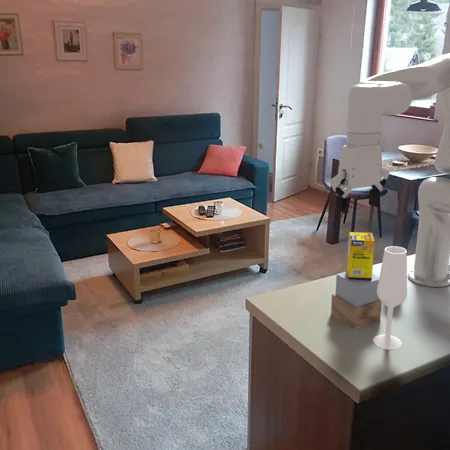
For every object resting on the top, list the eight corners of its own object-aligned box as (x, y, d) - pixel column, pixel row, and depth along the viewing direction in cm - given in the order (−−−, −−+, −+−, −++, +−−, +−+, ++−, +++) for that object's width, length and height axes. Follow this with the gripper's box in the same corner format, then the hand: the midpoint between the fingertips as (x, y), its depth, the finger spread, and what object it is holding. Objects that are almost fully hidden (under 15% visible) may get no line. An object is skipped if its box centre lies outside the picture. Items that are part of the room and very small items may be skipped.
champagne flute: (385, 352, 115) (394, 257, 107) (367, 338, 120) (373, 247, 113) (408, 345, 117) (418, 252, 109) (388, 331, 123) (396, 242, 115)
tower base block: (357, 306, 136) (358, 287, 134) (380, 321, 128) (381, 300, 126) (331, 314, 132) (331, 294, 130) (352, 329, 125) (354, 308, 123)
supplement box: (372, 281, 124) (375, 240, 120) (347, 280, 125) (350, 239, 121) (369, 271, 129) (372, 232, 126) (346, 270, 130) (348, 231, 127)
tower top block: (358, 287, 134) (360, 267, 132) (380, 299, 127) (381, 278, 125) (335, 294, 130) (336, 274, 128) (356, 307, 123) (357, 285, 121)
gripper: (379, 133, 121) (375, 200, 127) (322, 140, 114) (320, 210, 120) (402, 137, 115) (396, 207, 121) (343, 145, 108) (340, 219, 114)
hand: (358, 208), depth 120 cm, fingers open, 9 cm apart
